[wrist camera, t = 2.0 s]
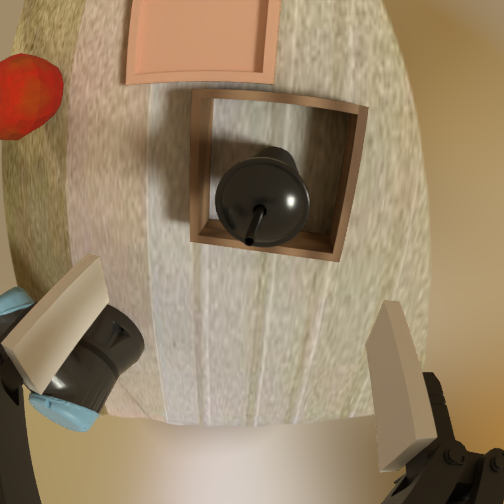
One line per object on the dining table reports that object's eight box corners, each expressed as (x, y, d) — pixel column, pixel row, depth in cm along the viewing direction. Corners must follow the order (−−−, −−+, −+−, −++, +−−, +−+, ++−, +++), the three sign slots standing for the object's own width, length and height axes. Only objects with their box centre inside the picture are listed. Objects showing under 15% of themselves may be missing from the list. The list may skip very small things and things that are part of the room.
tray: (133, 84, 33) (125, 84, 31) (145, -33, 24) (138, -37, 22) (274, 84, 31) (272, 84, 29) (284, -43, 22) (283, -50, 20)
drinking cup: (250, 200, 38) (205, 295, 21) (238, 141, 35) (175, 191, 18) (310, 193, 37) (317, 288, 19) (302, 132, 33) (304, 172, 16)
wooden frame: (202, 225, 41) (190, 241, 37) (206, 89, 32) (192, 89, 28) (335, 242, 39) (339, 262, 35) (359, 105, 31) (368, 107, 26)
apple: (90, 109, 35) (17, 127, 23) (40, 139, 38) (-25, 164, 26) (73, 39, 29) (1, 36, 17) (25, 76, 32) (-40, 87, 20)
